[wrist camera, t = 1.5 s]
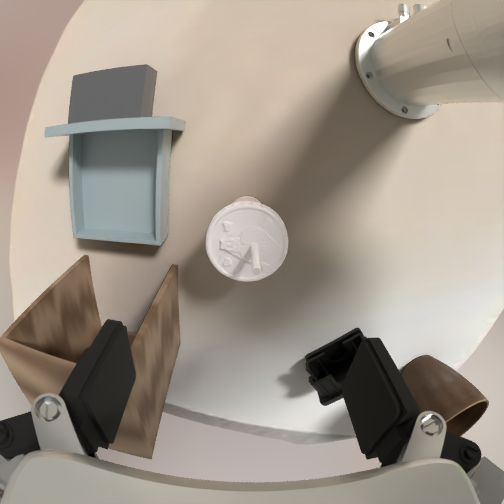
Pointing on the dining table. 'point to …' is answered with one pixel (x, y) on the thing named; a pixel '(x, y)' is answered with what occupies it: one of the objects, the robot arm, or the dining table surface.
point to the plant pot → (444, 393)
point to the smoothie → (246, 240)
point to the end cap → (333, 365)
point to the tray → (118, 156)
